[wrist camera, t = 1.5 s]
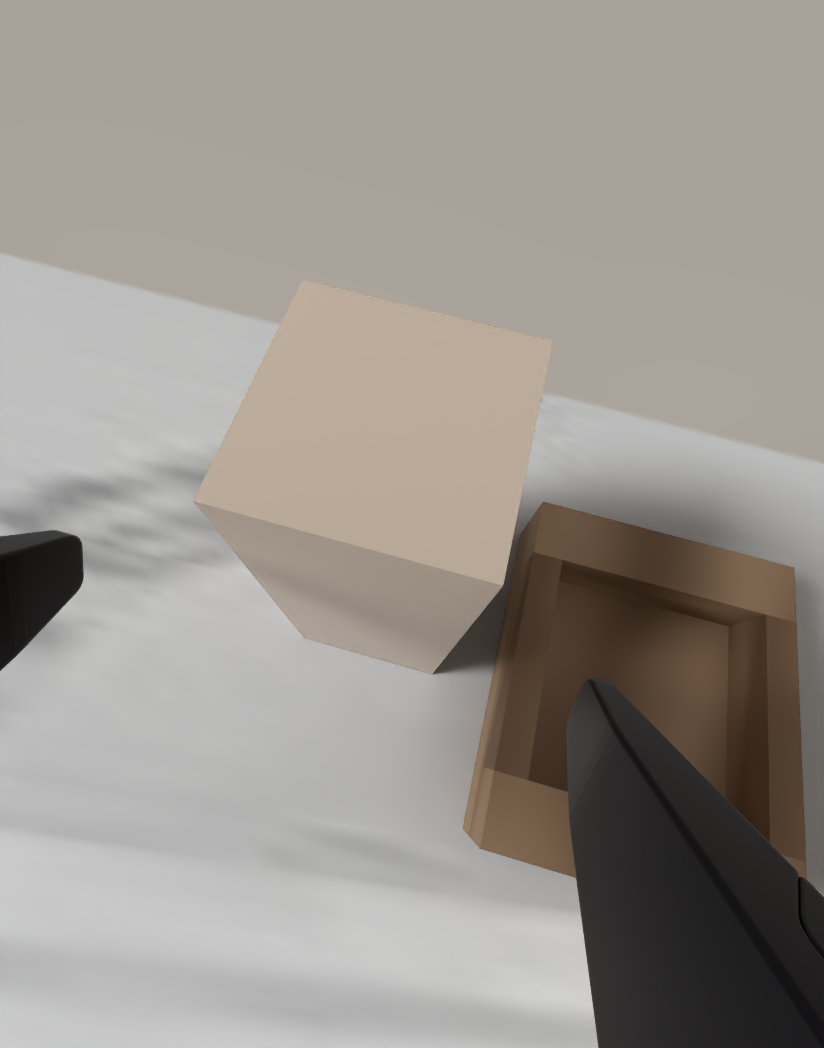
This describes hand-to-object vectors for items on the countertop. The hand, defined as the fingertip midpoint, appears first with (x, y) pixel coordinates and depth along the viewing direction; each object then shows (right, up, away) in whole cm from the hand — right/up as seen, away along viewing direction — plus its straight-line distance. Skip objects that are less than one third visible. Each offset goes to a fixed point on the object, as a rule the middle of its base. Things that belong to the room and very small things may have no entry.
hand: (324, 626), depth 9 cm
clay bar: (+1, -1, +11) cm, 11 cm away
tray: (+9, -5, +10) cm, 14 cm away
